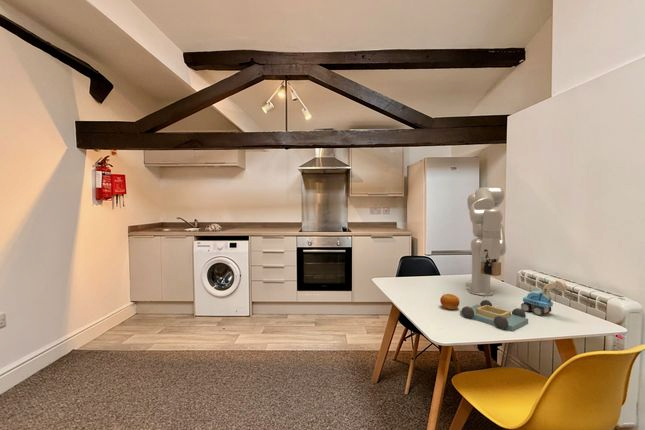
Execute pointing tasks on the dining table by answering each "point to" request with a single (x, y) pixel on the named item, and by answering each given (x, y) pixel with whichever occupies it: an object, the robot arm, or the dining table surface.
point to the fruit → (449, 301)
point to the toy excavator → (541, 298)
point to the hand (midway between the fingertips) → (490, 272)
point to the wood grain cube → (495, 268)
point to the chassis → (496, 316)
